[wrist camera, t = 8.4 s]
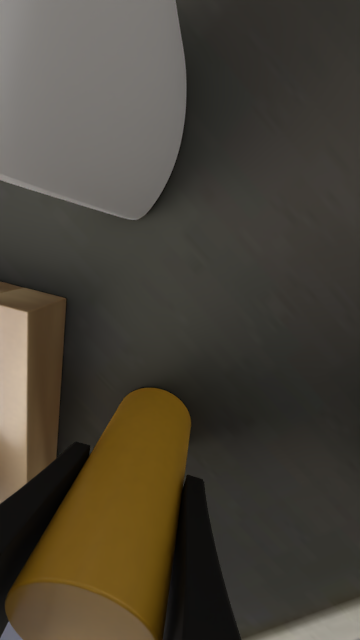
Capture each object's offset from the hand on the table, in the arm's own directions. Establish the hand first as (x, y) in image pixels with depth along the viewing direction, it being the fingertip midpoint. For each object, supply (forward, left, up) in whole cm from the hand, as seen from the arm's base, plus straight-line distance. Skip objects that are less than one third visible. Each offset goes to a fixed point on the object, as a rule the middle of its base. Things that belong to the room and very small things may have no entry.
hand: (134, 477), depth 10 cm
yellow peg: (0, 0, -3) cm, 3 cm away
